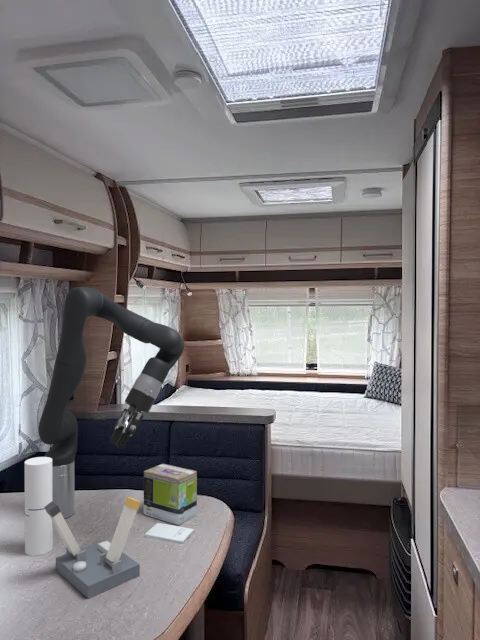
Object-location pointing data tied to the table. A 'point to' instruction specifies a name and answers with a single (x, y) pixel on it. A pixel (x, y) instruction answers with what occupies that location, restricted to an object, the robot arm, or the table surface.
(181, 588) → the table surface
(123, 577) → the switch panel
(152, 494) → the tea box
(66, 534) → the black lever
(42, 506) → the cylindrical container
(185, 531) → the external hard drive
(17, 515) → the table surface
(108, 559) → the amber lever
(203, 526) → the table surface
